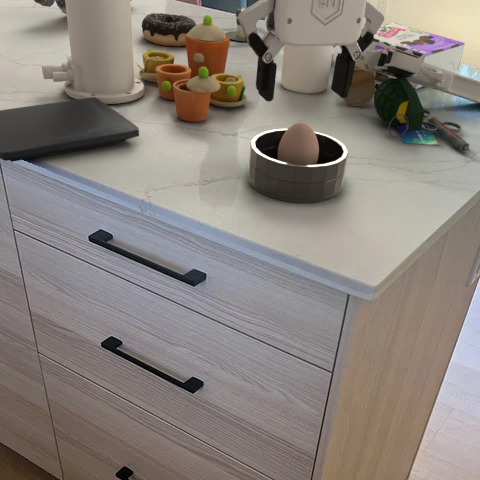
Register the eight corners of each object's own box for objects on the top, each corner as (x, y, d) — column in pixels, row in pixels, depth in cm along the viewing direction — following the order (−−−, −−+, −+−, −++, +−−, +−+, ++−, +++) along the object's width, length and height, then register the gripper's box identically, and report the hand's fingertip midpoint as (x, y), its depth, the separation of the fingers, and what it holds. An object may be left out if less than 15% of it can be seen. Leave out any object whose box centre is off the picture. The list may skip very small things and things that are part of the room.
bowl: (269, 207, 76) (272, 170, 73) (235, 166, 84) (237, 131, 81) (358, 197, 80) (365, 162, 77) (317, 159, 88) (322, 125, 84)
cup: (294, 95, 107) (302, 26, 99) (262, 74, 114) (267, 8, 107) (336, 91, 109) (346, 24, 102) (302, 71, 117) (309, 6, 110)
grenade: (362, 113, 103) (394, 144, 95) (368, 68, 98) (402, 98, 90) (397, 108, 104) (431, 139, 96) (404, 64, 99) (441, 93, 91)
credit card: (393, 122, 100) (393, 122, 100) (426, 124, 101) (426, 124, 100) (403, 143, 94) (403, 142, 94) (438, 145, 94) (438, 144, 94)
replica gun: (355, 43, 104) (349, 65, 106) (392, 46, 91) (384, 70, 92) (501, 91, 112) (493, 110, 114) (554, 99, 99) (545, 121, 101)
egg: (293, 166, 84) (300, 112, 79) (322, 179, 82) (331, 125, 77) (267, 176, 81) (272, 121, 77) (296, 190, 79) (303, 134, 74)
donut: (156, 50, 121) (156, 26, 118) (132, 34, 128) (130, 11, 125) (207, 45, 125) (208, 22, 122) (181, 30, 132) (181, 8, 129)
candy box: (425, 54, 109) (350, 31, 117) (416, 91, 113) (344, 66, 121) (466, 41, 116) (393, 20, 124) (456, 76, 120) (386, 54, 128)
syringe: (451, 161, 90) (455, 149, 89) (393, 114, 102) (396, 102, 101) (495, 161, 93) (500, 149, 91) (433, 114, 104) (437, 103, 103)
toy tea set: (131, 72, 110) (128, 7, 103) (216, 69, 114) (218, 6, 107) (172, 128, 93) (171, 54, 86) (269, 121, 97) (276, 51, 90)
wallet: (144, 143, 88) (95, 108, 96) (143, 129, 86) (93, 95, 95) (2, 171, 79) (-38, 130, 87) (-1, 155, 77) (-41, 115, 86)
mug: (347, 63, 101) (352, 47, 109) (334, 99, 104) (340, 80, 113) (393, 80, 101) (395, 63, 110) (379, 115, 105) (381, 96, 113)
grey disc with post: (227, 46, 126) (228, 17, 122) (205, 30, 133) (206, 2, 130) (281, 43, 130) (284, 15, 126) (257, 28, 137) (259, 1, 134)
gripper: (261, -86, 58) (245, 110, 70) (421, -78, 63) (381, 104, 75) (234, -99, 63) (224, 87, 75) (385, -91, 68) (352, 82, 80)
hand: (302, 95), depth 75 cm, fingers open, 9 cm apart
